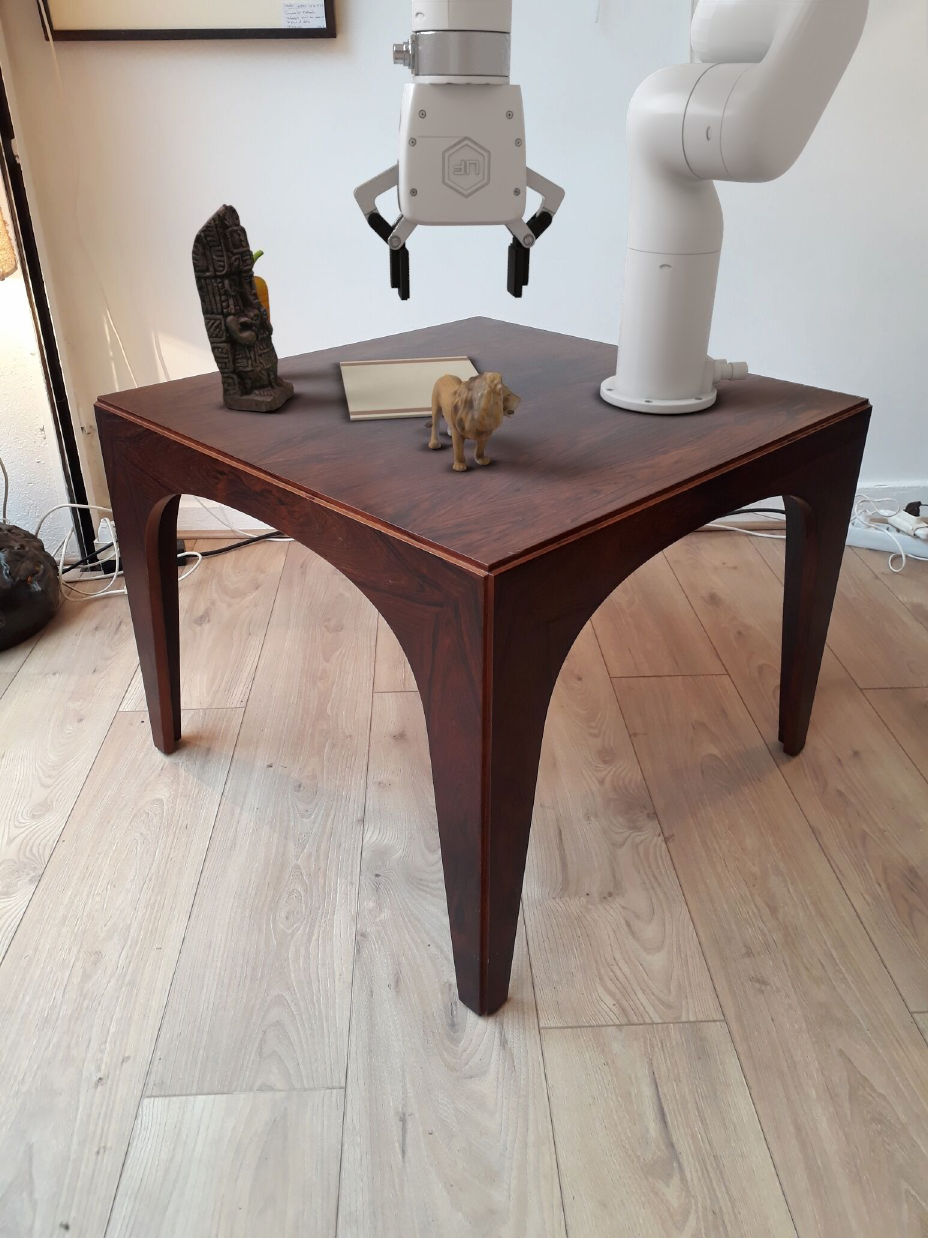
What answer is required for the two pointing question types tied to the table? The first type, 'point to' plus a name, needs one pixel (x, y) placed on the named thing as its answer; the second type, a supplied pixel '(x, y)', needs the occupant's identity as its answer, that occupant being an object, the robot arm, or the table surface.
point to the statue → (236, 315)
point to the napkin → (398, 385)
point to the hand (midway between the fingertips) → (459, 295)
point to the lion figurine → (470, 412)
